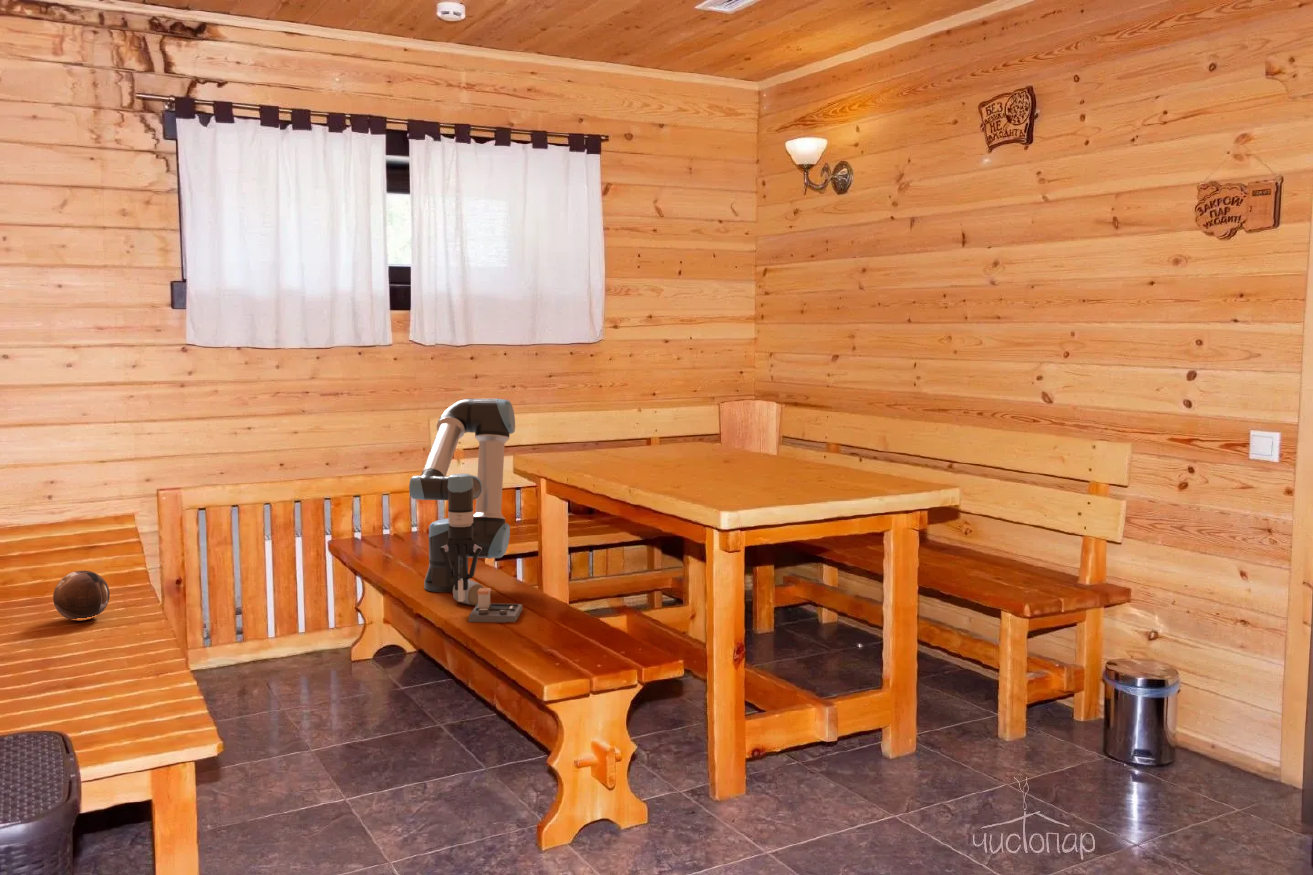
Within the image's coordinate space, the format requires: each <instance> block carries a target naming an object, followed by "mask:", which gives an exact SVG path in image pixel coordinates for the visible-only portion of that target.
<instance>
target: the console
mask: <svg viewBox="0 0 1313 875" xmlns="http://www.w3.org/2000/svg"><path fill="white" fill-rule="evenodd" d="M521 611H522V612H523V603H493V602H492V603H491V602H490V606H489V608H478V604H477V605H475V607H474V608H473V609H472V610H471V611H470V612H469V615H468V622H469V623H506V622H515V621H516V622H517V620H518V619H519V617H520V615H521V614H522V612H521ZM520 613H521V614H520ZM516 622H515V623H516Z"/></svg>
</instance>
